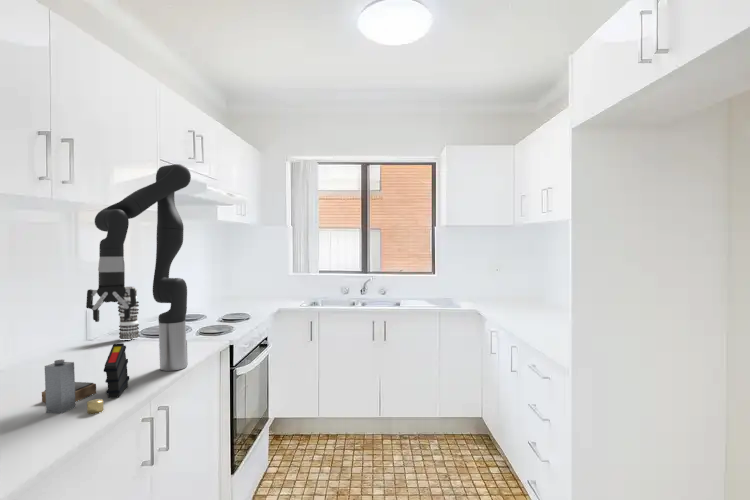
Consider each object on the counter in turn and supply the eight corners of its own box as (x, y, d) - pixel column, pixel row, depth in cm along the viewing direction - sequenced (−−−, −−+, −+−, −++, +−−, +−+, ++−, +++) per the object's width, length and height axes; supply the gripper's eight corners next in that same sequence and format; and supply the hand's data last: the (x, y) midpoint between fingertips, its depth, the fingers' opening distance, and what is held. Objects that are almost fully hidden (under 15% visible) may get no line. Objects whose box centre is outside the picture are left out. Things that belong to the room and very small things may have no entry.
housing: (60, 406, 146) (58, 358, 146) (75, 407, 146) (73, 358, 145) (46, 412, 142) (44, 362, 141) (61, 413, 141) (60, 363, 140)
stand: (68, 391, 160) (67, 381, 160) (96, 393, 159) (95, 382, 158) (42, 402, 150) (41, 390, 150) (71, 403, 149) (71, 392, 149)
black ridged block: (131, 379, 167) (125, 342, 161) (122, 408, 156) (115, 370, 149) (119, 380, 167) (112, 343, 160) (109, 409, 155) (101, 370, 148)
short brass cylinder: (94, 409, 144) (94, 398, 144) (106, 409, 143) (106, 399, 143) (83, 414, 140) (83, 403, 140) (96, 414, 139) (96, 403, 139)
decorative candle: (115, 339, 242) (113, 287, 241) (134, 336, 249) (133, 285, 248) (123, 342, 236) (121, 288, 235) (143, 338, 243) (141, 286, 242)
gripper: (137, 270, 171) (137, 319, 170) (90, 271, 167) (90, 320, 166) (133, 270, 163) (133, 321, 163) (83, 271, 160) (83, 323, 159)
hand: (111, 321), depth 165 cm, fingers open, 8 cm apart
